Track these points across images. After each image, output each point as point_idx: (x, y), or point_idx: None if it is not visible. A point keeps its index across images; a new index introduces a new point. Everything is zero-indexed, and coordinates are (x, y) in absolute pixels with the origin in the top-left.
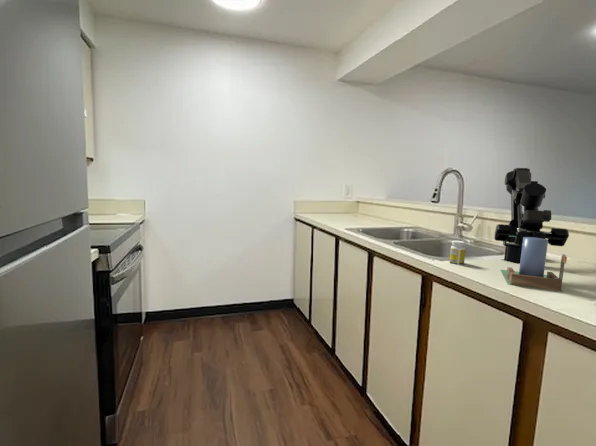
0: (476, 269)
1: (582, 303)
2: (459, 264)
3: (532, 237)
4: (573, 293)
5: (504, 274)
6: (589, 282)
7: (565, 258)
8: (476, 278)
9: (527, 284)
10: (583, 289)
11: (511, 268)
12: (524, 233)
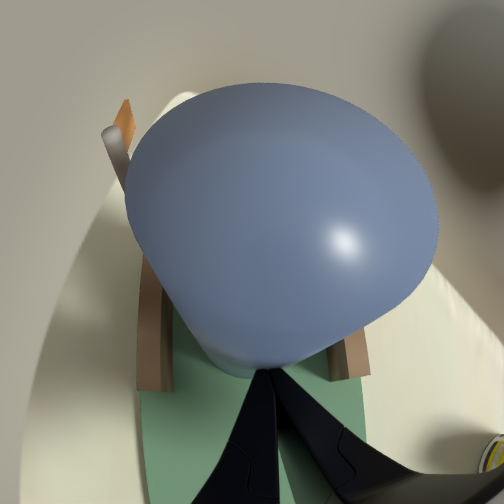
0: (446, 450)
1: None
2: (493, 442)
3: (340, 292)
4: (109, 275)
5: (356, 414)
6: (22, 475)
7: (128, 110)
8: (431, 293)
9: None
10: (55, 358)
11: (351, 350)
12: (468, 497)
